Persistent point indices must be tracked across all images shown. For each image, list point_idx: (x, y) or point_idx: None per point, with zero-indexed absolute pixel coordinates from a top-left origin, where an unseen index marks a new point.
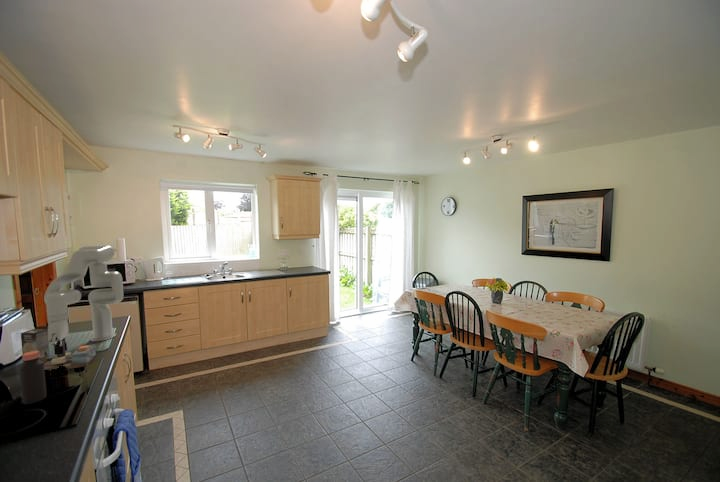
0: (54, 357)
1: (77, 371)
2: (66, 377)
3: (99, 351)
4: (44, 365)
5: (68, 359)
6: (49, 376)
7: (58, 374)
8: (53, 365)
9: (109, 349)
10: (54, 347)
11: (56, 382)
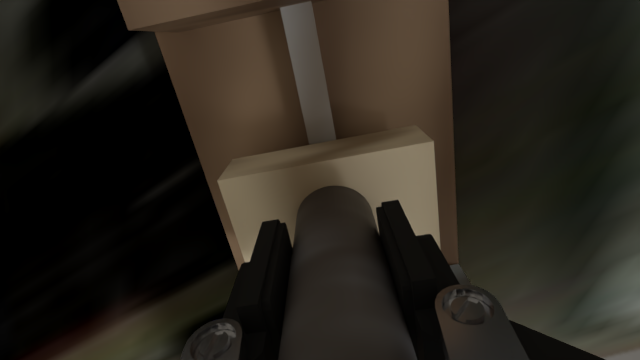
0: (308, 164)
1: (187, 337)
2: (98, 324)
3: (581, 292)
4: (289, 46)
5: None
6: (120, 203)
7: (151, 247)
8: (288, 136)
9: (586, 340)
10: (239, 304)
11: (26, 309)
